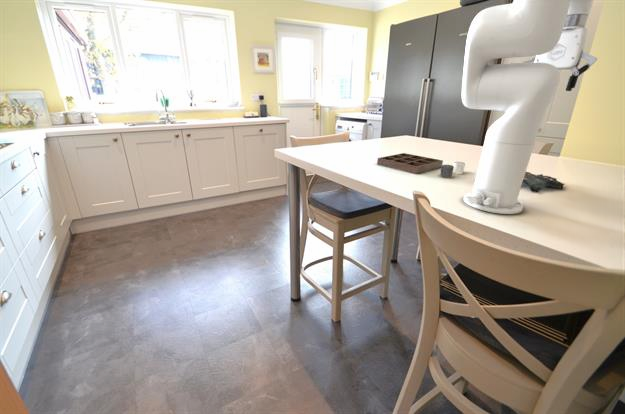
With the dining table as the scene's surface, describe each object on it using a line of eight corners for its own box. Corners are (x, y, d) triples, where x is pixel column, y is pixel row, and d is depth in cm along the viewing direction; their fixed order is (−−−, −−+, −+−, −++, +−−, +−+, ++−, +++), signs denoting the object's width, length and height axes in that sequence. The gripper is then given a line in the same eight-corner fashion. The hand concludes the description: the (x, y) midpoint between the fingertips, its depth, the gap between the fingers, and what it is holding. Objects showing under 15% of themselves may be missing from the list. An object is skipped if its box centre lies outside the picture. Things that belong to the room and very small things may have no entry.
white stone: (460, 174, 96) (462, 164, 95) (449, 172, 99) (451, 162, 98) (464, 173, 99) (467, 162, 97) (454, 170, 101) (456, 160, 100)
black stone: (448, 178, 92) (450, 167, 90) (437, 176, 94) (439, 165, 93) (453, 176, 94) (456, 166, 93) (443, 174, 96) (445, 164, 95)
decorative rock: (519, 162, 97) (575, 168, 86) (514, 179, 99) (570, 187, 88) (494, 165, 87) (556, 172, 75) (490, 185, 88) (550, 195, 77)
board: (416, 174, 96) (417, 166, 95) (376, 164, 108) (377, 158, 108) (441, 167, 106) (443, 160, 105) (403, 158, 118) (403, 152, 117)
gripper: (527, 28, 84) (511, 90, 90) (607, 17, 71) (582, 90, 78) (536, 31, 88) (520, 90, 95) (613, 22, 76) (588, 91, 82)
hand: (548, 90), depth 86 cm, fingers open, 9 cm apart
